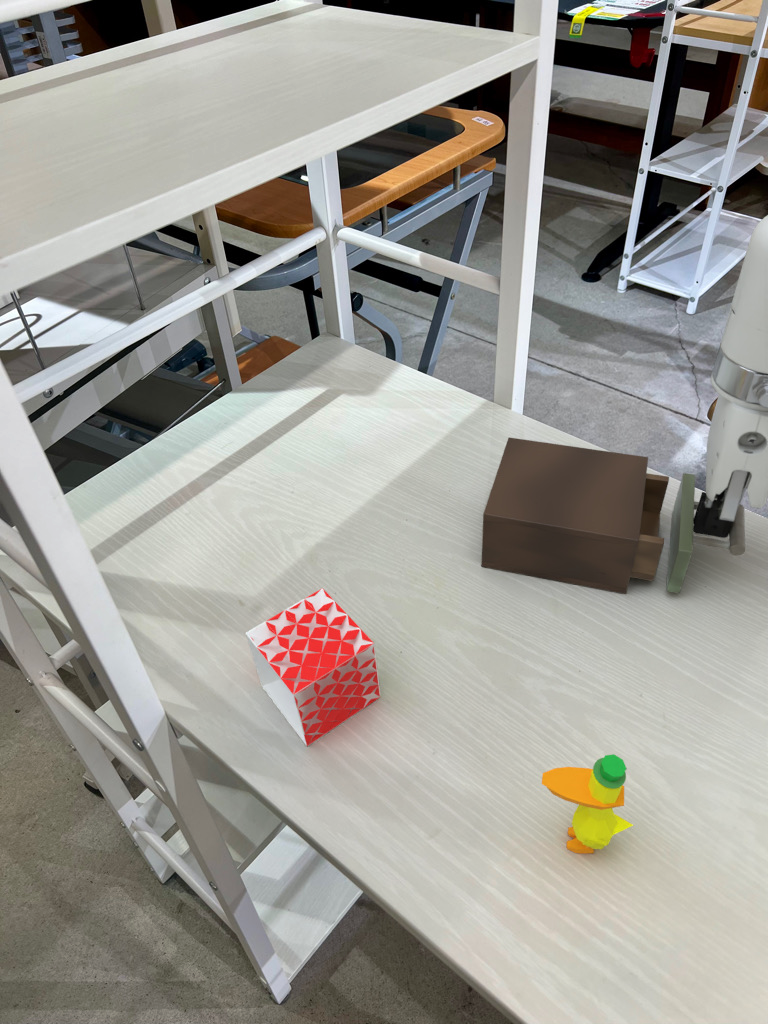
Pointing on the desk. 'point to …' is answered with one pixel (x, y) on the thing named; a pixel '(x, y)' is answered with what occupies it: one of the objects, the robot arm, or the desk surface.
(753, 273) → the robot arm
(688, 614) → the desk surface
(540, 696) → the desk surface
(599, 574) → the cabinet
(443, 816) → the desk surface
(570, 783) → the toy figure
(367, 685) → the red patterned cube
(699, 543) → the drawer
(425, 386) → the desk surface
